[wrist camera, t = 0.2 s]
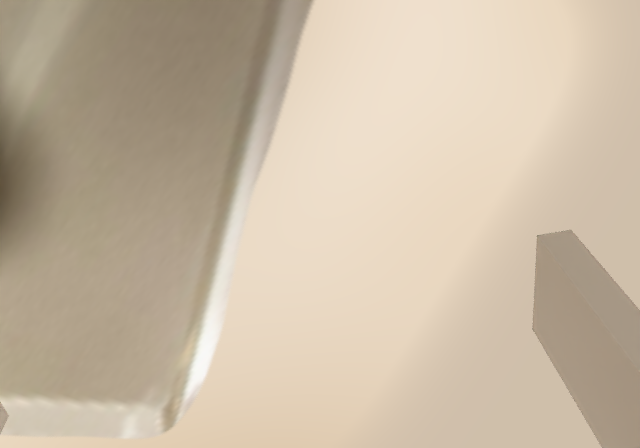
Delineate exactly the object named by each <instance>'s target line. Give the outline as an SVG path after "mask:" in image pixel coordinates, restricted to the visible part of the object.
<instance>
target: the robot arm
mask: <svg viewBox="0 0 640 448" xmlns="http://www.w3.org/2000/svg"><path fill="white" fill-rule="evenodd" d="M533 331H534V332H535V334H536V336H537V337H538V339H539V341H540V343H541V344H542V346H543V348H544V349H545V351H546V353H547V355H548V356H549V358H550V360H551V361H552V363H553V365H554V367H555V368H556V370H557V372H558V373H559V375H560V377H561V378H562V380H563V382H564V384H565V385H566V387H567V389H568V390H569V392H570V394H571V396H572V397H573V399H574V401H575V402H576V404H577V406H578V407H579V409H580V411H581V412H582V414H583V416H584V418H585V420H586V421H587V423H588V424H589V426H590V428H591V430H592V431H593V433H594V435H595V436H596V438H597V440H598V442H599V443H600V445H601V447H602V448H640V310H639V309H638V308H637V307H636V305H635V304H634V303H633V302H632V301H631V299H630V298H629V297H628V296H627V295H626V294H625V293H624V291H623V290H622V289H621V288H620V287H619V285H618V284H617V283H616V282H615V281H614V280H613V279H612V277H611V276H610V275H609V274H608V272H607V271H606V270H605V269H604V268H603V267H602V265H601V264H600V263H599V262H598V261H597V260H596V259H595V257H594V256H593V255H592V254H591V253H590V251H589V250H588V249H587V248H586V247H585V246H584V244H583V243H582V242H581V241H580V240H579V239H578V237H577V236H576V235H575V234H574V233H573V231H572V230H567V231H561V232H555V233H549V234H543V235H537V249H536V269H535V289H534V308H533ZM7 418H8V414H7V412H6V411H5V409H4V407H3V406H2V404H1V402H0V433H1V431H2V429H3V427H4V425H5V423H6V421H7Z"/></svg>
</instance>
